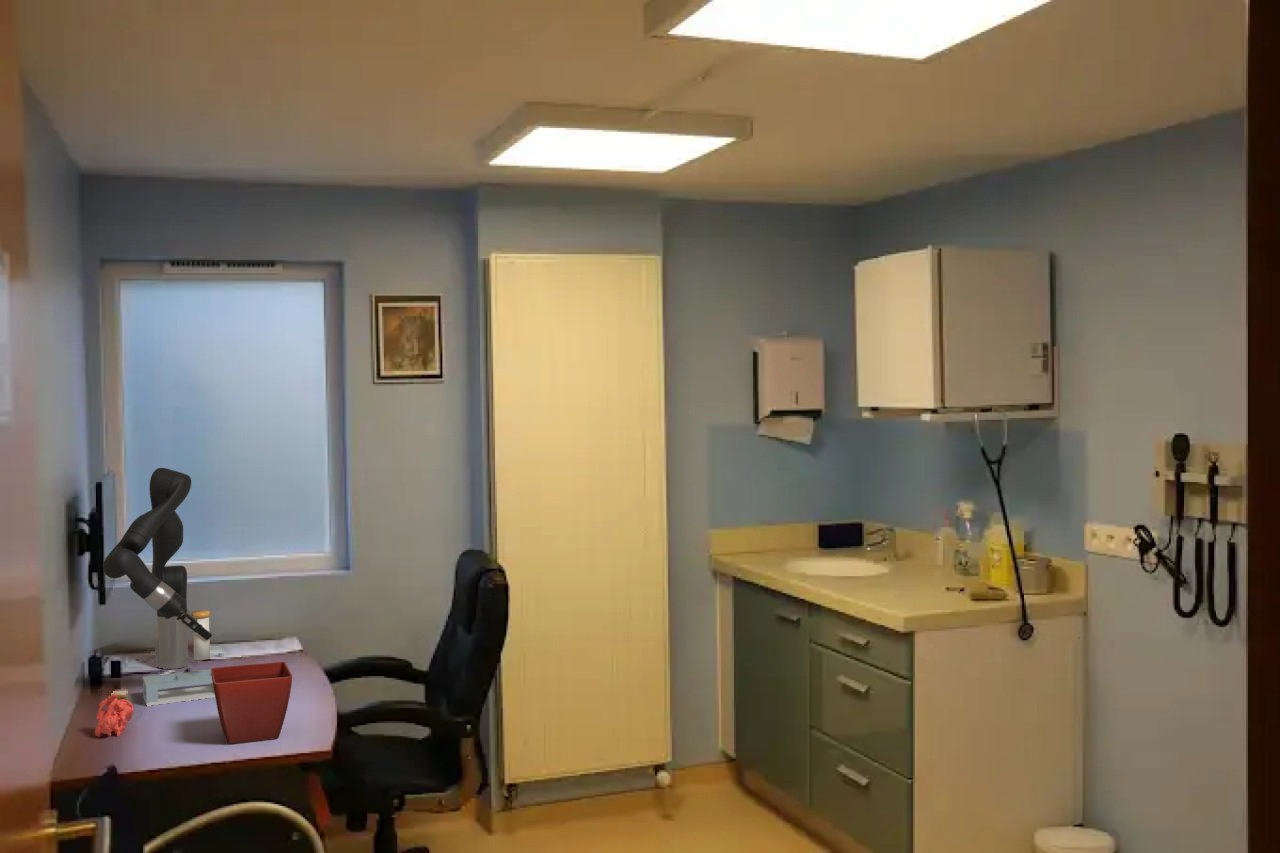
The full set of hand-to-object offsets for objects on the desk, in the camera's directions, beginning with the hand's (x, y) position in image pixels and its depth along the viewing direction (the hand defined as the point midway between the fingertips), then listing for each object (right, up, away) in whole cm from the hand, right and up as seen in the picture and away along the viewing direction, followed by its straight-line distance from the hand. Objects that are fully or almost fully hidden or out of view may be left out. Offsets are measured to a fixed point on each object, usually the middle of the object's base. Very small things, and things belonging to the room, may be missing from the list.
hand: (208, 636), depth 345 cm
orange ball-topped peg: (-2, -7, -1) cm, 7 cm away
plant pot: (+27, -19, -43) cm, 54 cm away
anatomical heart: (-10, -19, -40) cm, 45 cm away
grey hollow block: (-6, -18, -3) cm, 19 cm away
